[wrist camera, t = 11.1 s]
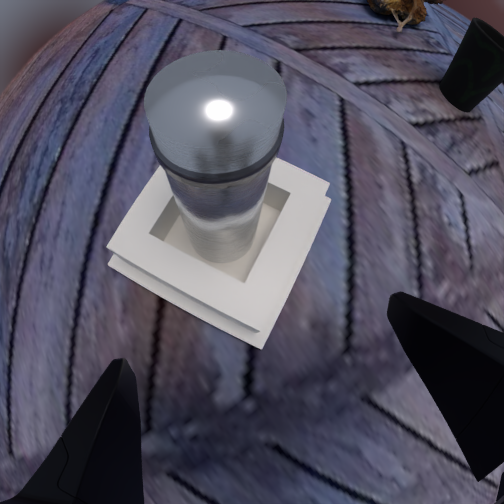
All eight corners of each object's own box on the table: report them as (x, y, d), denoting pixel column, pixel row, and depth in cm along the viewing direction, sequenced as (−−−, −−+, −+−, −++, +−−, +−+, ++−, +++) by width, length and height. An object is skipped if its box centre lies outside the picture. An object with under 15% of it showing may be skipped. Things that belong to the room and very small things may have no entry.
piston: (259, 264, 21) (300, 149, 8) (186, 266, 20) (127, 154, 8) (255, 198, 22) (282, 49, 10) (187, 199, 22) (152, 52, 9)
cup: (459, 120, 29) (510, 59, 17) (423, 76, 30) (462, 12, 19) (484, 115, 30) (530, 64, 19) (452, 76, 32) (489, 22, 20)
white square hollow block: (260, 349, 20) (267, 350, 16) (112, 268, 21) (90, 252, 17) (327, 204, 24) (344, 180, 20) (194, 143, 24) (189, 112, 21)
